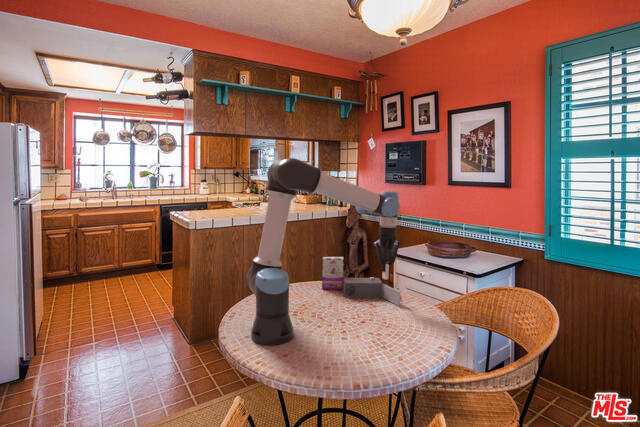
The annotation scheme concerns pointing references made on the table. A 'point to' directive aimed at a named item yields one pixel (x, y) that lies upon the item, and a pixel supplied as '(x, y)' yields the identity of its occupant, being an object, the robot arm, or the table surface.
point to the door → (391, 295)
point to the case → (362, 287)
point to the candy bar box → (332, 273)
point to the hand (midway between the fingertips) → (385, 278)
